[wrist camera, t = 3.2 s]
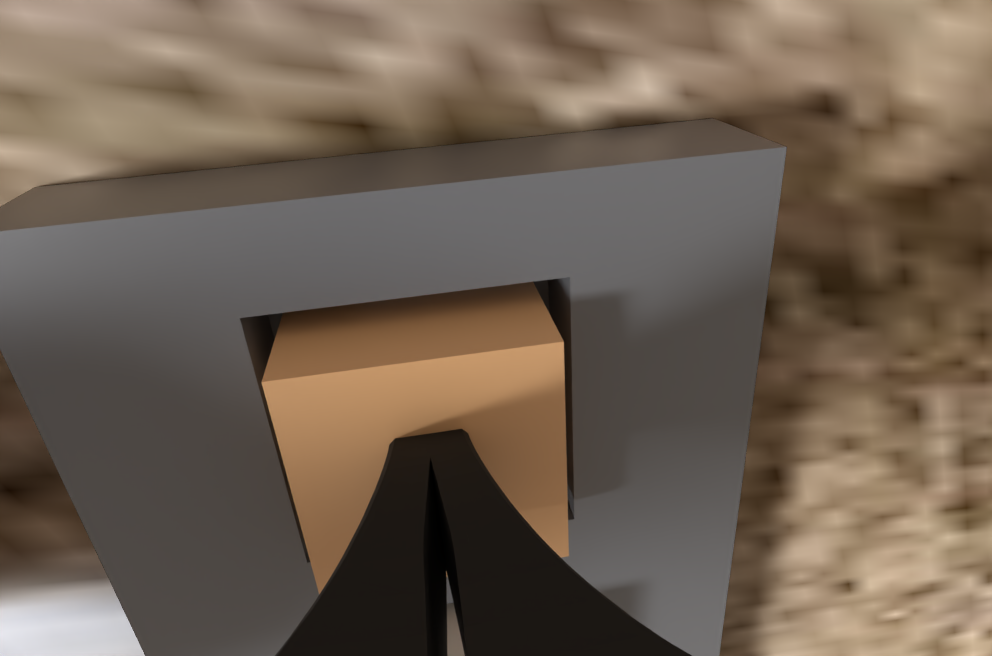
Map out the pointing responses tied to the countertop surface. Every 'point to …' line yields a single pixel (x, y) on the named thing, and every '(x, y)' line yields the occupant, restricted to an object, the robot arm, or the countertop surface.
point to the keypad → (383, 276)
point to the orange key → (418, 403)
